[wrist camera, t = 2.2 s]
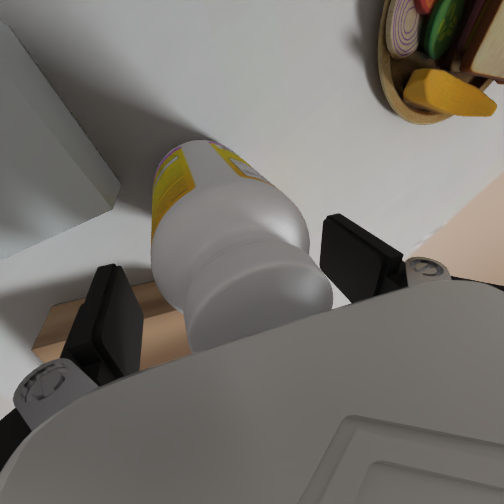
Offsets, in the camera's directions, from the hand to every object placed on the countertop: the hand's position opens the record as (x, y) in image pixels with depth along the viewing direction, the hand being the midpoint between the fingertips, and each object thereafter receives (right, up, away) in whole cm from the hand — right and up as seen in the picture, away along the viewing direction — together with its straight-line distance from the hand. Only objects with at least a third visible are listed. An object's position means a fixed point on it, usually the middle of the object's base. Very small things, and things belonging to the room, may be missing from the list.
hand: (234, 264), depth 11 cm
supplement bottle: (-3, +5, +6) cm, 9 cm away
